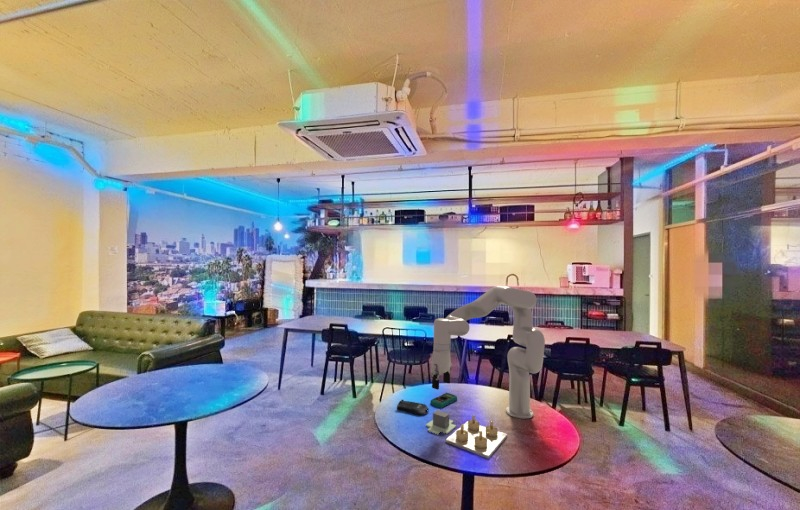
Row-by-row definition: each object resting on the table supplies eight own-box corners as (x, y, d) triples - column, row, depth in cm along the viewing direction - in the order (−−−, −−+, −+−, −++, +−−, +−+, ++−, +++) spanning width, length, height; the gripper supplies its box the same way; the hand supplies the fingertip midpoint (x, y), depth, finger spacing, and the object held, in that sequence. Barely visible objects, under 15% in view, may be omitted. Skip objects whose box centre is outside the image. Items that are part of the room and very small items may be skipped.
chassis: (467, 423, 148) (467, 408, 148) (507, 436, 137) (507, 420, 138) (445, 442, 132) (445, 425, 132) (488, 458, 121) (488, 440, 122)
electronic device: (396, 415, 159) (425, 416, 154) (395, 403, 160) (424, 403, 155) (403, 410, 168) (431, 411, 163) (402, 398, 169) (430, 399, 164)
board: (438, 417, 154) (438, 405, 154) (459, 424, 147) (459, 411, 147) (421, 429, 143) (422, 415, 143) (444, 437, 136) (444, 423, 136)
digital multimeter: (429, 405, 169) (429, 399, 169) (446, 397, 179) (446, 391, 179) (441, 409, 163) (441, 403, 164) (457, 401, 174) (457, 395, 174)
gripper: (444, 342, 155) (443, 378, 155) (424, 348, 142) (423, 389, 141) (458, 344, 151) (457, 382, 150) (439, 351, 137) (438, 393, 136)
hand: (441, 385), depth 146 cm, fingers open, 9 cm apart
